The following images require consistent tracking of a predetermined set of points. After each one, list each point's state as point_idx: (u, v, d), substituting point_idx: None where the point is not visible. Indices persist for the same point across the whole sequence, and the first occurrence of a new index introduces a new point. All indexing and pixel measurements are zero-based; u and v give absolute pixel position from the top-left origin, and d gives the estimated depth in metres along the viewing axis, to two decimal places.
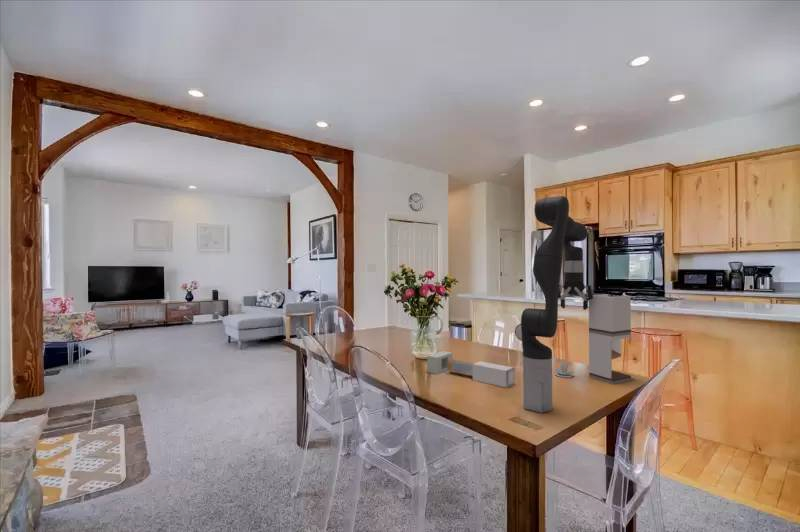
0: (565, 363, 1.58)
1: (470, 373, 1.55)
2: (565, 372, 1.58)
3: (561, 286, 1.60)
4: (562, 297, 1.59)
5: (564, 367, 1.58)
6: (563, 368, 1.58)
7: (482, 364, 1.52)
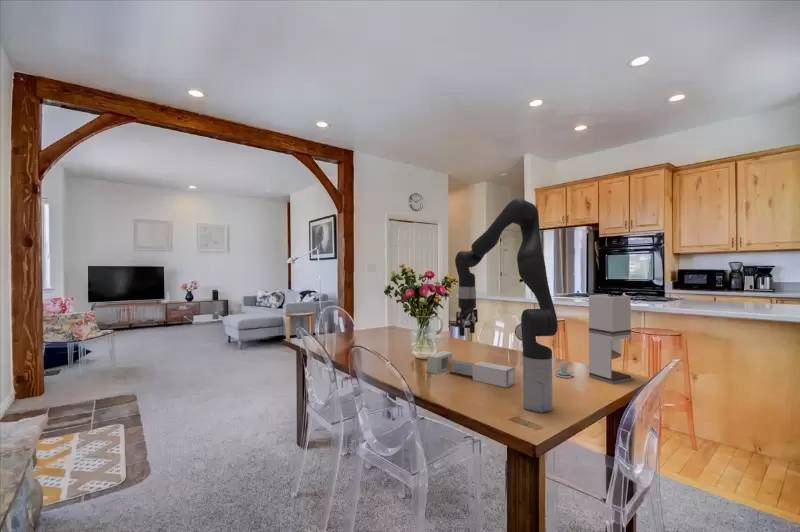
0: (565, 363, 1.58)
1: (470, 373, 1.55)
2: (565, 372, 1.58)
3: None
4: (464, 324, 1.54)
5: (564, 367, 1.58)
6: (563, 368, 1.58)
7: (482, 364, 1.52)
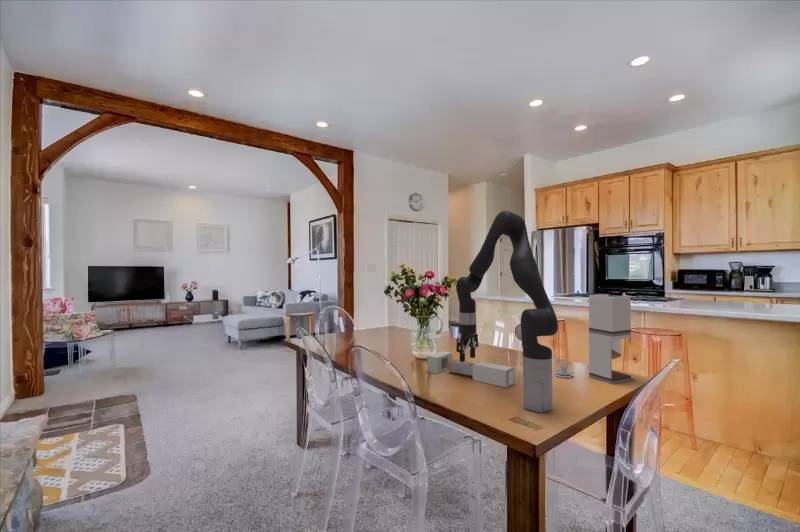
0: (565, 363, 1.58)
1: (470, 373, 1.55)
2: (565, 372, 1.57)
3: None
4: (464, 351, 1.55)
5: (564, 367, 1.58)
6: (563, 368, 1.58)
7: (482, 364, 1.52)
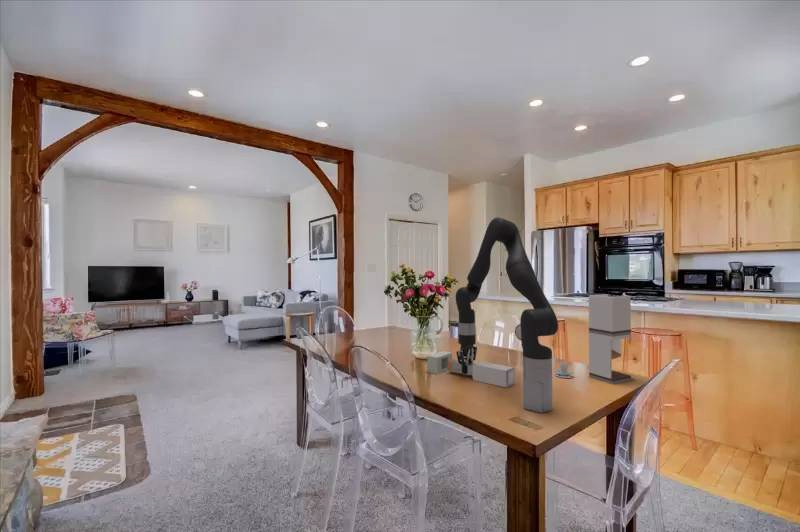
0: (565, 363, 1.58)
1: (470, 373, 1.55)
2: (565, 372, 1.57)
3: (462, 351, 1.54)
4: (466, 362, 1.56)
5: (564, 367, 1.57)
6: (563, 368, 1.58)
7: (482, 364, 1.52)
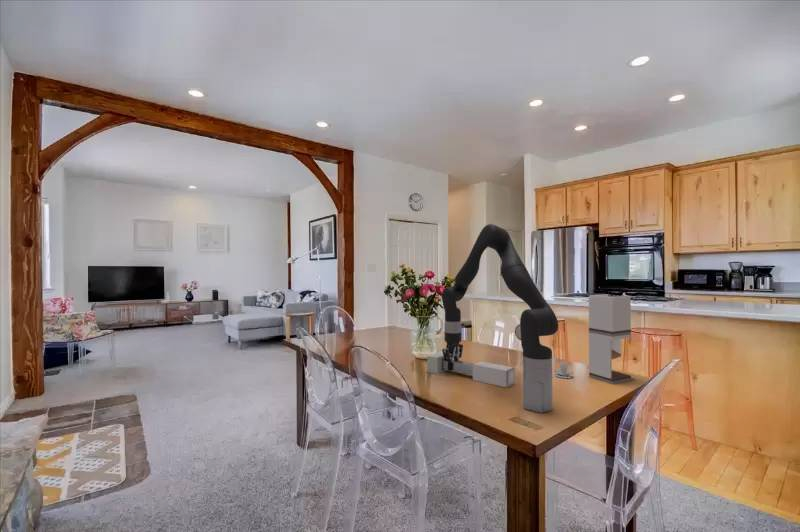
0: (565, 364, 1.57)
1: (456, 370, 1.60)
2: (565, 373, 1.57)
3: (447, 349, 1.59)
4: (452, 360, 1.60)
5: (564, 368, 1.57)
6: (563, 369, 1.57)
7: (482, 364, 1.52)
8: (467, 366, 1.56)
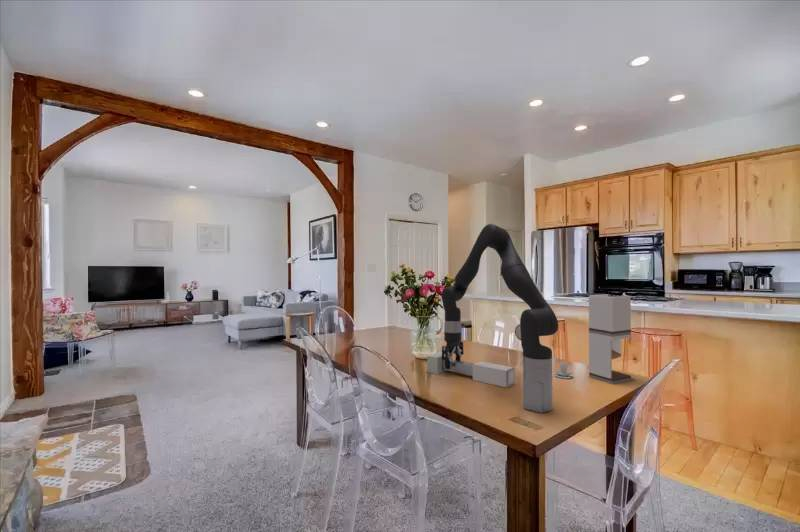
0: (564, 364, 1.57)
1: (456, 370, 1.60)
2: (564, 373, 1.57)
3: (447, 347, 1.59)
4: (449, 358, 1.59)
5: (563, 368, 1.57)
6: (562, 369, 1.57)
7: (482, 364, 1.52)
8: (467, 366, 1.56)
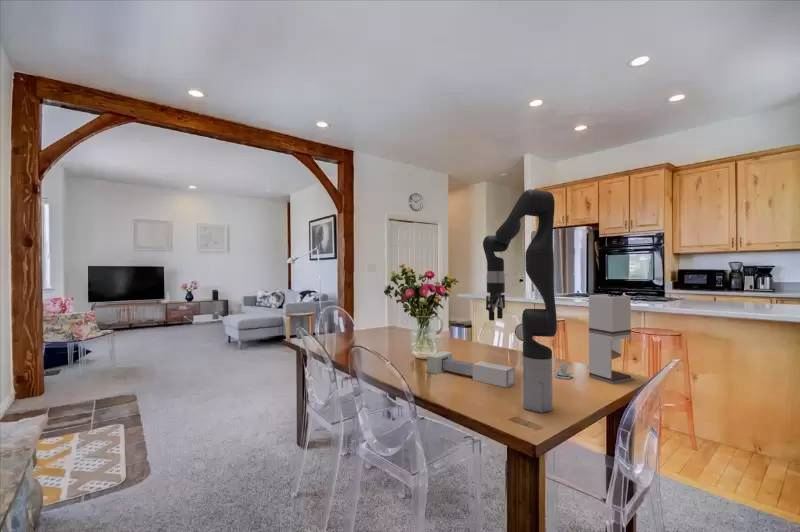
0: (564, 364, 1.57)
1: (456, 370, 1.60)
2: (564, 373, 1.56)
3: None
4: (494, 309, 1.53)
5: (563, 368, 1.56)
6: (562, 369, 1.57)
7: (482, 364, 1.52)
8: (467, 366, 1.56)
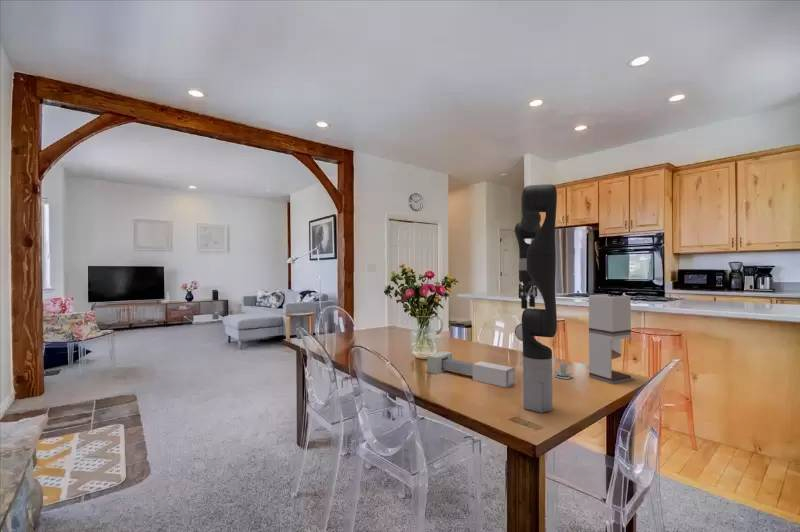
0: (564, 364, 1.56)
1: (456, 370, 1.60)
2: (564, 373, 1.56)
3: None
4: (527, 297, 1.50)
5: (563, 368, 1.56)
6: (562, 369, 1.56)
7: (482, 364, 1.52)
8: (467, 366, 1.56)
